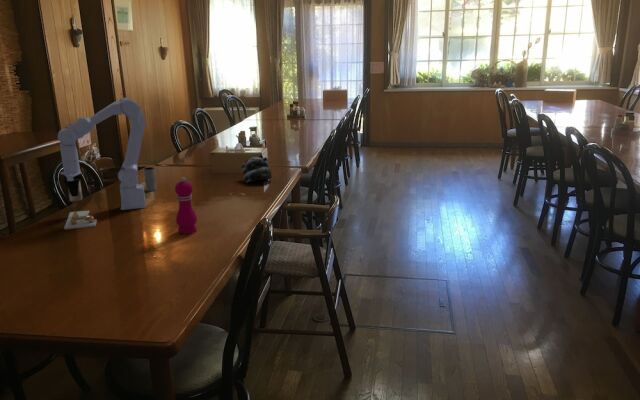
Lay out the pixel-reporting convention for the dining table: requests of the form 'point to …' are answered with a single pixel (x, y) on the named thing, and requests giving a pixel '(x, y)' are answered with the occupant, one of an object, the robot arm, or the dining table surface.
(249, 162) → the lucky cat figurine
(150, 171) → the grey upright cylinder
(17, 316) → the dining table surface
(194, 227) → the pepper mill
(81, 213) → the mat
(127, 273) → the dining table surface
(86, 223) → the wire base
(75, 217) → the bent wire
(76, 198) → the birch block
